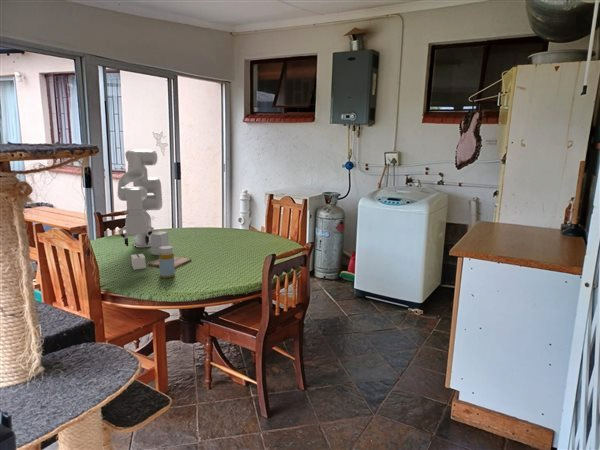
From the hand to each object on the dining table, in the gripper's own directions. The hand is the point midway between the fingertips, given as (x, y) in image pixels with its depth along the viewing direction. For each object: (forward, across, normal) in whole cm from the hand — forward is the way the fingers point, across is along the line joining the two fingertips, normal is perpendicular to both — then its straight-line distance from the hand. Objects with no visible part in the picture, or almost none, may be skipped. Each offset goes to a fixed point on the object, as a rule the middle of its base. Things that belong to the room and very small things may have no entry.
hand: (137, 244), depth 218 cm
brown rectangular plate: (+12, +16, 0) cm, 20 cm away
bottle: (+13, +10, -21) cm, 27 cm away
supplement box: (+12, +16, +22) cm, 29 cm away
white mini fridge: (+12, 0, +1) cm, 12 cm away
